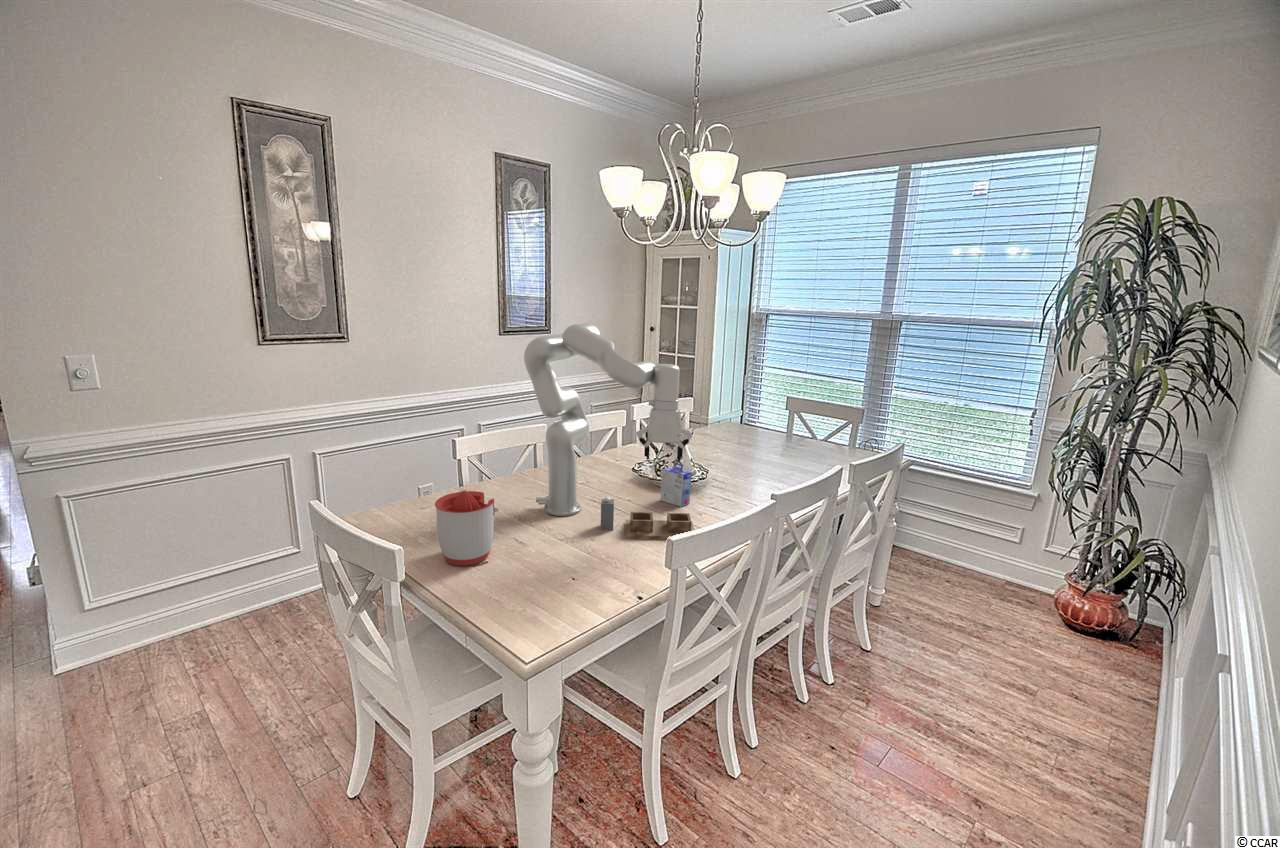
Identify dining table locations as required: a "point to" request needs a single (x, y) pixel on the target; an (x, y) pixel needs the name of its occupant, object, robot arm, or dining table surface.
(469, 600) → the dining table surface
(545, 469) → the dining table surface
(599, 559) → the dining table surface
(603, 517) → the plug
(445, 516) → the citrus juicer
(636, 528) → the socket board
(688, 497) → the ink cartridge box
